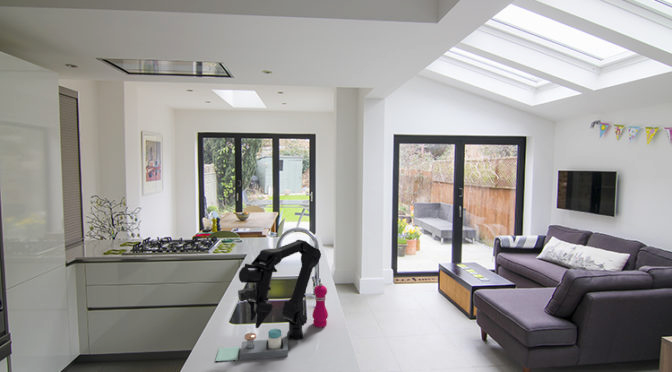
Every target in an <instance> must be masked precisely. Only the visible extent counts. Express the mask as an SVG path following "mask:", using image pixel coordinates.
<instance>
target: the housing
mask: <svg viewBox="0 0 672 372" xmlns="http://www.w3.org/2000/svg"><path fill="white" fill-rule="evenodd" d="M281 347H282V348H281V349H274V350H268V349H267V348H268V339H260V340H254V348H253V349H247V340H246V341H241V347H240V351H239V360H240V361H247V360H258V359H259V360H260V359H270V358H282V357H284V358H285V357H288V356H289V348H288V347H289V345H288V337H287V338H281Z"/></svg>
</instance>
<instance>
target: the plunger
mask: <svg viewBox="0 0 672 372" xmlns="http://www.w3.org/2000/svg"><path fill="white" fill-rule="evenodd" d="M256 338H257V334H256V333H255V332H248V333H246V334H244V340H246V341H247V349H253V348H254V341H255V339H256Z"/></svg>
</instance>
